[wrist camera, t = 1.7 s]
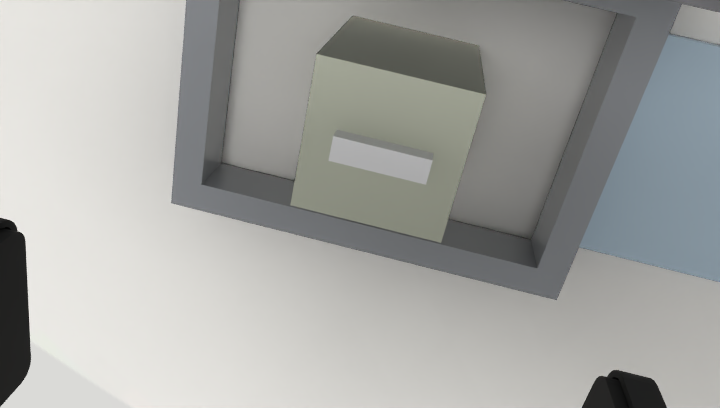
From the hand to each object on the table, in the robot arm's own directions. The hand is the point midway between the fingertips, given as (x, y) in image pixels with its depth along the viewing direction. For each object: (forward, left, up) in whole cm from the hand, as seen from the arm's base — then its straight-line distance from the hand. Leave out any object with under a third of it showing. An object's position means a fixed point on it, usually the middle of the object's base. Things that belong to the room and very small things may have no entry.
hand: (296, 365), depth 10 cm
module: (0, 0, -17) cm, 17 cm away
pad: (-13, 0, -17) cm, 21 cm away
